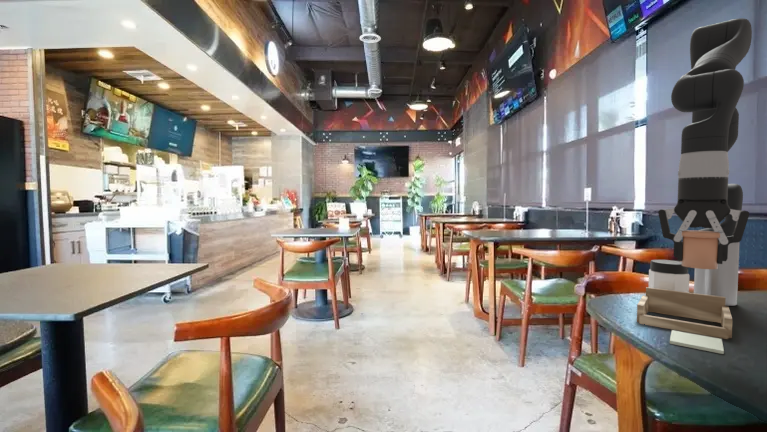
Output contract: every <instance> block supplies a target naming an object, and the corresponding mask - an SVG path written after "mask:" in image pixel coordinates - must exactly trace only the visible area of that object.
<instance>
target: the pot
mask: <svg viewBox="0 0 767 432" xmlns="http://www.w3.org/2000/svg"><path fill="white" fill-rule="evenodd" d="M682 236H683V238H682V243H683V247H682V261H681V262H682V266H685V267H688V268H691V269H695V268H698V269H718V245H719V239H718V238H720V233H715V232H714V231H698V230H696V229H695V230H694V229H693V230H689V229H687V231H682Z"/></svg>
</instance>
